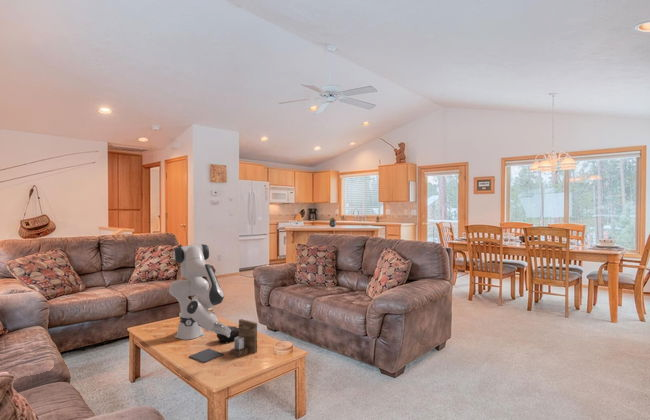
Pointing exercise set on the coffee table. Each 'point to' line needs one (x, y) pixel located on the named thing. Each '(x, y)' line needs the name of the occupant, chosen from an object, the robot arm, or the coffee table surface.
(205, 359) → the rubber mat
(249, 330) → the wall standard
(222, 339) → the dark porous rock
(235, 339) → the light gray square block
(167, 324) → the coffee table surface
